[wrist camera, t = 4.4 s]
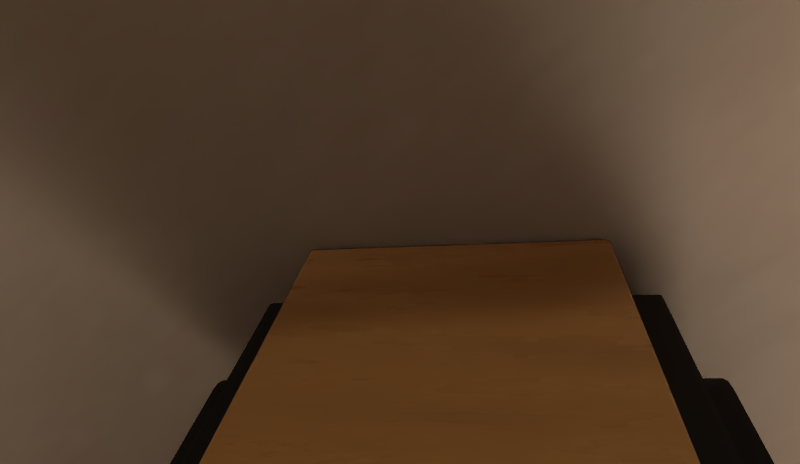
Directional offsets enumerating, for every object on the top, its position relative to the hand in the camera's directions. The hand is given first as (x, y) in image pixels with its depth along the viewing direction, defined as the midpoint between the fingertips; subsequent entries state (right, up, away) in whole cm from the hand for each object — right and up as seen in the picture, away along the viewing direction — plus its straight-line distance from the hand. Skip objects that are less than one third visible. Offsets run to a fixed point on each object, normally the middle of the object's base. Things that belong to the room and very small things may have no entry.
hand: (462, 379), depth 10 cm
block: (0, 0, 0) cm, 0 cm away
